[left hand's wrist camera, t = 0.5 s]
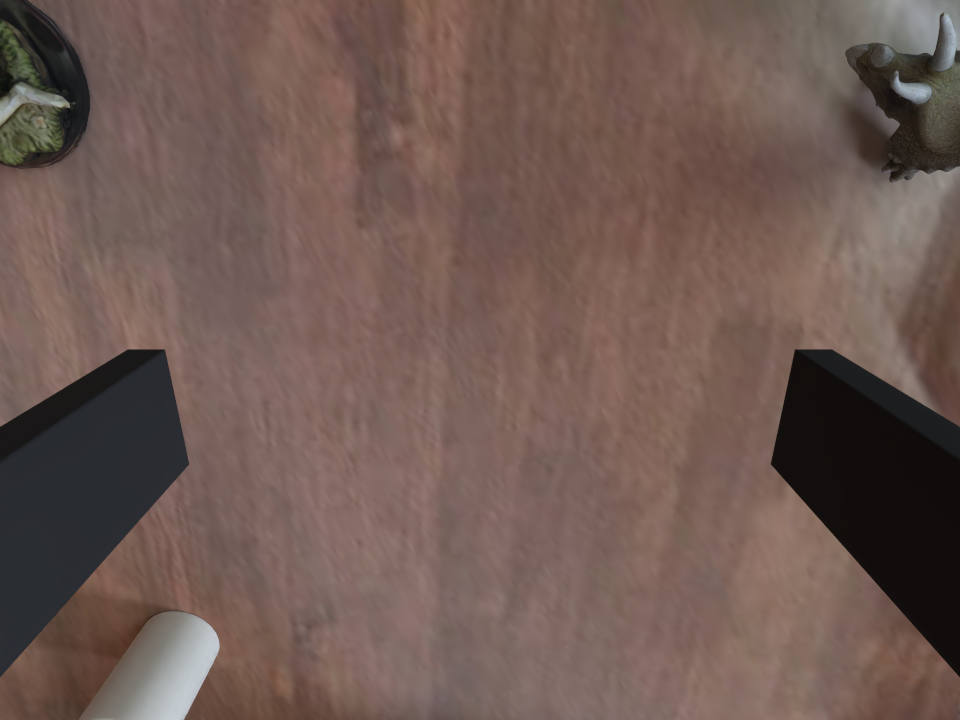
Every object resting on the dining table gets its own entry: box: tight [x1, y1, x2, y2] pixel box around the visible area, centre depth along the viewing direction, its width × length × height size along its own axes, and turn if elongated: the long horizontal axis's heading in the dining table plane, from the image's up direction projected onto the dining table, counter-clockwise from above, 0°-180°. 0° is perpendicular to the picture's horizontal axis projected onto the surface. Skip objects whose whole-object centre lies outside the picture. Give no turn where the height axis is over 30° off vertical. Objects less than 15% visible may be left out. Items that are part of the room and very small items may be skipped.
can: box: [79, 611, 219, 720], centre depth 46 cm, size 7×7×10 cm
